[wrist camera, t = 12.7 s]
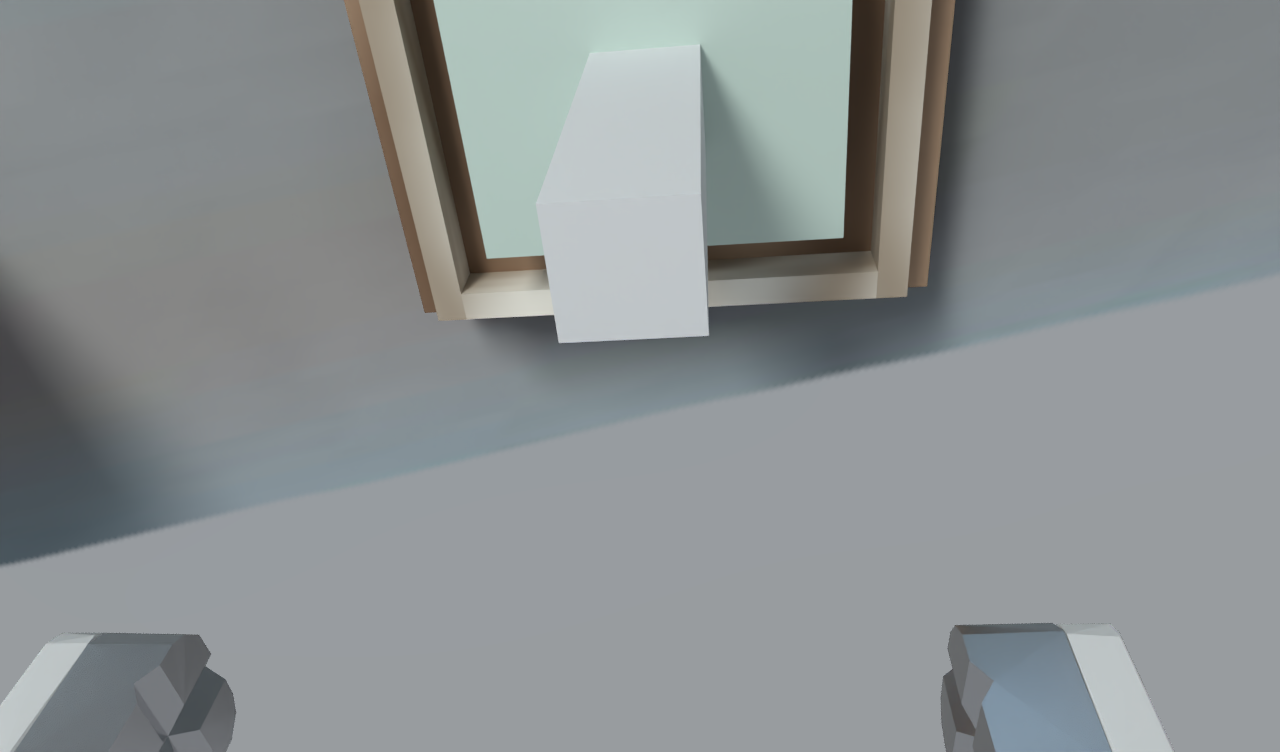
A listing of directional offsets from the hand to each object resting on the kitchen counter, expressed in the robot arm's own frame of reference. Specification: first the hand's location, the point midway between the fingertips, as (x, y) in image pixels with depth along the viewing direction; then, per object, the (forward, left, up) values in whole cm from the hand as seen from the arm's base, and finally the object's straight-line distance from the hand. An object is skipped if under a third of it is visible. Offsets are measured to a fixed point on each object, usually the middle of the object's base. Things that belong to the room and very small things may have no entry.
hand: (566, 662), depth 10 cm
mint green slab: (0, 0, -22) cm, 22 cm away
